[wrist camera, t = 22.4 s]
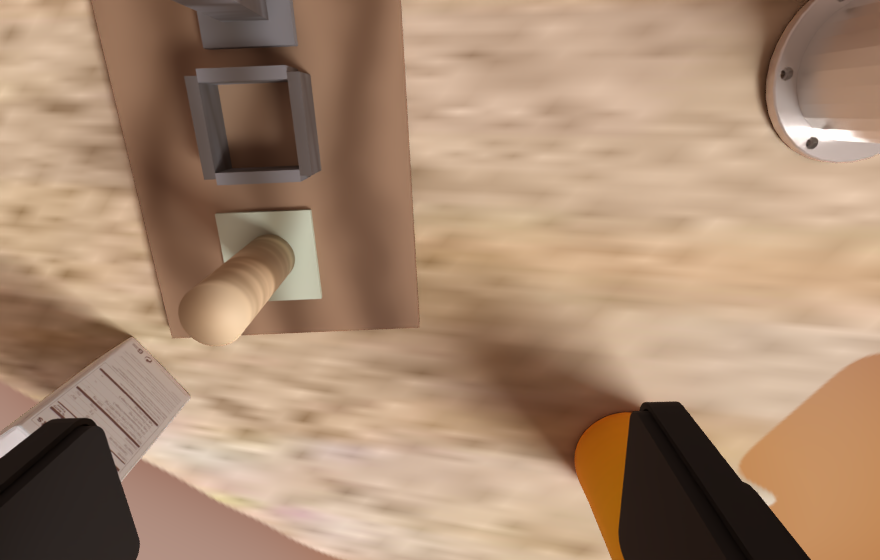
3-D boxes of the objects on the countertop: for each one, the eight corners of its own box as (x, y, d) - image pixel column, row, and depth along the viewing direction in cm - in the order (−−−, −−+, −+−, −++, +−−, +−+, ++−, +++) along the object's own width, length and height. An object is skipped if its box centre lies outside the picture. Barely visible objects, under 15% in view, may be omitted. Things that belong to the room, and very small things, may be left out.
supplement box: (133, 436, 44) (23, 557, 32) (71, 376, 42) (-72, 481, 30) (195, 397, 43) (105, 507, 31) (134, 332, 41) (11, 424, 29)
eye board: (396, -75, 32) (373, -200, 19) (419, 321, 41) (414, 416, 28) (87, -63, 32) (-145, -180, 19) (179, 331, 41) (65, 432, 28)
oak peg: (291, 233, 37) (239, 284, 26) (297, 278, 38) (250, 344, 27) (243, 235, 37) (171, 287, 26) (250, 280, 38) (185, 347, 27)
